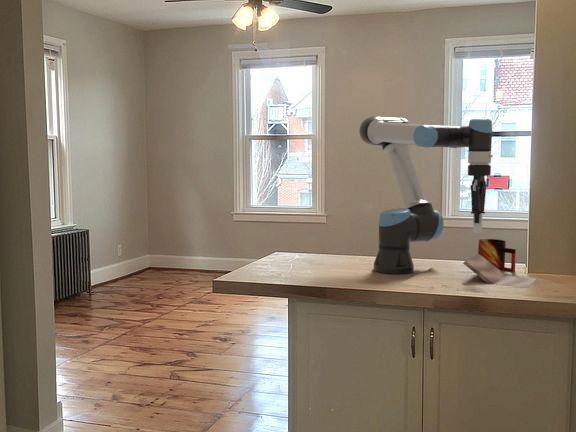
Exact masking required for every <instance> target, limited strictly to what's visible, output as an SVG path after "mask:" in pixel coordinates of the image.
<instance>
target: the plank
mask: <svg viewBox="0 0 576 432" xmlns="http://www.w3.org/2000/svg"><path fill="white" fill-rule="evenodd" d="M462 264H463V265H465V266H466V267H467V268H468V269H469V270H471V272H472V273H474V274H476V276H478V277H479V278H481V279H482V281H484V282H485V283H487V284H489V285H496V283H497V282H499V281H500V280H501V279H503V278H504V277H505V276H507V275H506V274H505V273H504V271H502V270H499V269H497V268H496V267H495V266H494V265H492V264H491V263H490V262H489V261H487V260H486V259H485V258H483V257H482V256H481V255H480V254H478V253H477V254H475V255H473V256H472V257H470V258H467V259H466V260H464V262H463V263H462Z"/></svg>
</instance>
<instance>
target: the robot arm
mask: <svg viewBox="0 0 576 432" xmlns="http://www.w3.org/2000/svg"><path fill="white" fill-rule="evenodd" d="M358 131H359V132H358V133H359V136H360V138H361V140H362V141H363V142H365V143H366V144H368V145H372V146H381V148H382V151H383V153H384V154H385V155H387V156H389V157H388V158H389V160H390V164H391V167H392V170H393V173H394V177H395V180H396V182H397V186H398V189H399V193H400V195H401V199H402V202H403V205H404V208H402V207H401V208H400V207H399V208H390V209H385V210H383V211H381V213H379V218H378V219H379V220H378V250H377V253H376V256H375V259H374V262H373V271H375V272H377V273H382V274H387V275H388V274H389V275H403V274H404V275H405V274H410V273H414V271H415V270H414V269H415V264H414V261H413V259H412V255H411V252H410V245H411V243H414V242H415V243H417V242H418V243H419V242H429V241H435V240H437V239H438V238H439V237H441V234H442V232H443V229H444V223H445V222H444V217H443V215H442V214H441V212H439V211H438V210H434V208H433V204H432V202H430V201H428V200H427V199H426V196H425V193H424V190H423V187H422V185H421V181H420V179H419V174H418V172H417V168H416V166H415V162H414V160H413V156H412V153H411V151H410V148H411V146H417V147H422V148H450V149H458V148H468V154H467V155H468V156H467V157H468V158H467V163H468V164H469V165H468V166H467V175H468V176H472V177H473V178H472V181H471V184H470V187H469V188H470V195H471V198H470V199H471V211H470V214H471V215H472V214H473V217H472V218H473V219H472V221H473V222H472V224H473V225H472V233H475V234H476V233H478V234H482V233H483V214H486V211H485V204H486V195H487V194H486V193H487V187H488V184H487V181H486V177H489V176H491V174H492V166H491V163H492V158H493V157H494V155H493V154H492V139H493V138H492V137H493V123H492V120H491V119H490V118H472V119H470V120H469V123H468V125H461V126H460V125H458V126H457V125H438V124H437V125H433V124H432V125H431V124H418V123H417V124H416V123H411V122H410V121H409V120H408V119H406V118H403V117H399V116H393V117H392V116H378V115H375V116H370V117H367V118H366V119H364V120H363V121H362V122H361V123H360V125H359V130H358Z"/></svg>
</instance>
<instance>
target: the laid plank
mask: <svg viewBox="0 0 576 432" xmlns="http://www.w3.org/2000/svg"><path fill="white" fill-rule="evenodd" d="M536 280H537V278H536V277H529V276H528V277H527V276H526V277H525V276H517V275H516V276H515V275H508V274H507V275H506V276H505V277H503V278H502V279H501V280H499V281H498V282H497V283H495V285H497V286H498V285H499V286H509V287H516V288H527V289H528V288H529V287H530V286H531V285H532V284H533V283H534V282H535V281H536Z"/></svg>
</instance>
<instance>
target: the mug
mask: <svg viewBox="0 0 576 432" xmlns="http://www.w3.org/2000/svg"><path fill="white" fill-rule="evenodd" d="M477 246H478V247H477V249H478V250H477V254H480V255H481V256H482V257H483V258H485V259H486V260H487V261H489V262H490V263H491V264H492V265H494V266H495V267H496V268H497V269H499V270H500V271H502V272H508V273H509V272H510V273H516V251H517V249H515V248H509V247H506V240H503V239H495V238H482V239H478V245H477ZM507 253H508V254H511V256H510V257H511V261H510V263H511V264H510V267H506V266H505V265H506V262H505V261H506V254H507Z"/></svg>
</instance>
